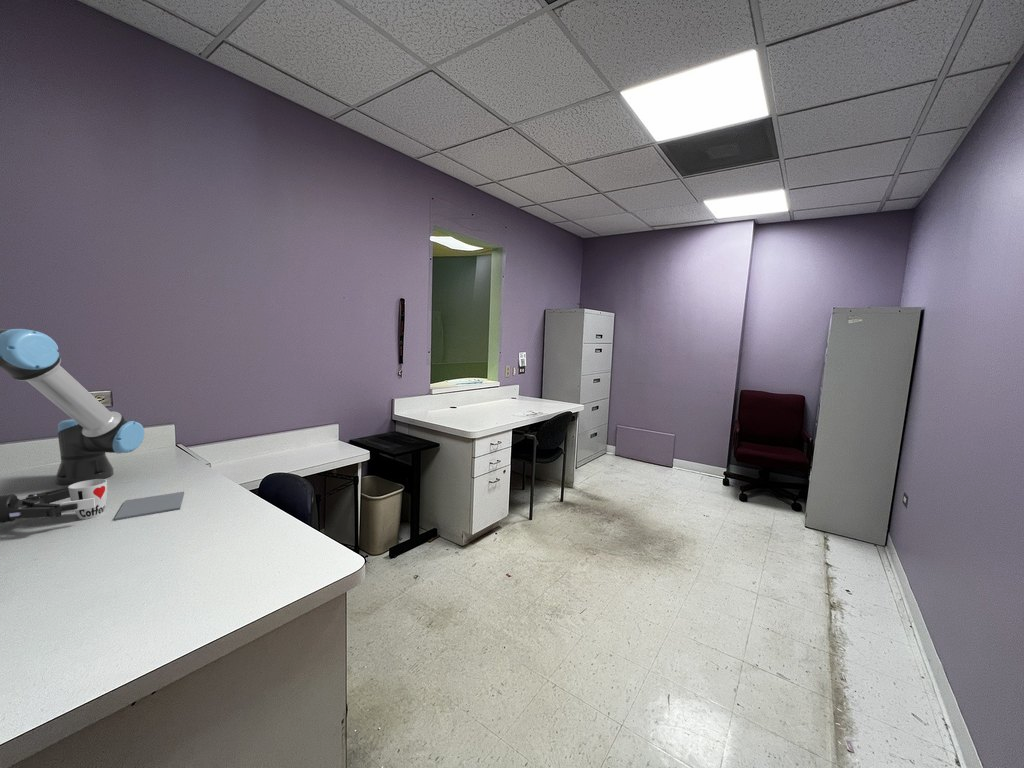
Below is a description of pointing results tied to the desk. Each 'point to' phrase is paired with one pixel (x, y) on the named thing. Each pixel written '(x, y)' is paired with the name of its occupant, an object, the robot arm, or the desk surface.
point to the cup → (90, 496)
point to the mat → (150, 505)
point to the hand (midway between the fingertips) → (100, 495)
